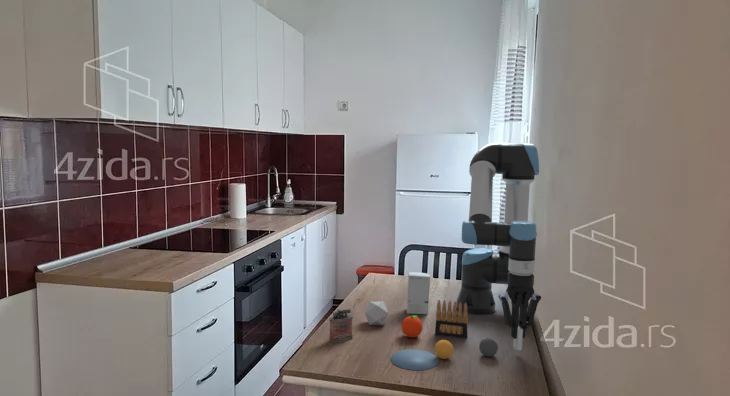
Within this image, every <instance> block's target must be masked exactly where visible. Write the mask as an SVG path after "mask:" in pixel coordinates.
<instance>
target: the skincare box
mask: <svg viewBox="0 0 730 396" xmlns="http://www.w3.org/2000/svg"><path fill="white" fill-rule="evenodd" d="M407 273H408V276H407V277H408V279H407V298H406V314H409V315H410V314H413V315H414V314H417V315H428V314H429V303H430V301H429V300H430V288H431V287H430V286H431V276H430V273H427V272H417V271H416V272H415V271H412V272H410V271H408V272H407Z"/></svg>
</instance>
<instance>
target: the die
mask: <svg viewBox="0 0 730 396" xmlns="http://www.w3.org/2000/svg"><path fill="white" fill-rule="evenodd" d="M364 312H365V313H364V315H365V317H366V320H367V322H368V326H385V322H386V320H387V318H388V315H389V311H388V309H387V306H386V303H385V302H384V301H369V302H368V305H367V307H366V310H365V311H364Z"/></svg>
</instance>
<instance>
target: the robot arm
mask: <svg viewBox="0 0 730 396" xmlns="http://www.w3.org/2000/svg"><path fill="white" fill-rule="evenodd" d="M468 172H469V175H470V177H471V181H470V193H469V194H470V196H469V197H470V198H469V210H468V211H469V213H468V220H464V221H462V225H461V242H462V243H463V244H466V245H473V246H480V245H481V246H497V247H499V248H498V253H495V252H494V250H493V249H491V248H486V247H480V248H479V247H478V248H472V249H468V250H466V251H464V252H463V254H462V260H461V283H460V284H461V285H460V286H461V287H460V291H459V292H458V295H457V298H456V301H455V302H456V305H457V309H458V307H459V303H460V302H461V304H462V312H463V311H464V305H465V302H466V303H467V314H468V313H470V314H477V315H478V314H479V315H483V314H486V315H487V314H490V313H493V312H495V311H496V302H495V301H496V300H495V298H494V294H493V291H492V287H493V286H492V285H493V284H497V285H507V288H506V289H505V292H504V293H503V294H498V298H499V300H500V302H501V306H502V311H503V316H504V321H505V322H504V323H505V325H507V326H508V327H509V328H511V332H510V335H511V336H510V337H511V338H513V345H512V346H513V348H514V349H515V350H516V351H522V350H523V339H525V338H526V331H527V330H528V327H532V325H533V323H534V318H535V315H536V311H537V307H538V304H539V302H540V301H541V299H542V296H541V295H540V294H538V293H536V292H535V289H534V285H535V275H534V273H535V263H536V262H535V261H536V257H535V256H536V244H537V242H536V241H537V235H538V233H537V224H536V223H535V222H533V221H529V209H530V208H529V207H530V191H531V190H530V187H531V184H532V183H533V182H534V181H535V176H537V175H539V173H540V162H539V152H538V148H537V146H536V145H535V144H534V143H525V142H521V143H520V142H517V143H515V142H513V143H509V142H501V143H500V142H493V143H489V144H486V145H485V146H483V147H481V148H480V149H479V150H478V151H477V152H476V153H475V154H474V155H473V157H472V159H471V161H470V164H469V171H468ZM496 175H502V178H501V180H503V182H504V183H505V197H504V198H505V201H504V203H505V205H504V222H495V221H494V222H493V221H492V220H493V192H494V191H493V190H494V189H493V187H494V186H493V183H494V181H493V180H494V177H495V176H496ZM509 299H510V300H511V301H510V302H511V308H510V303H509Z"/></svg>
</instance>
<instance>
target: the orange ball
mask: <svg viewBox="0 0 730 396" xmlns="http://www.w3.org/2000/svg"><path fill="white" fill-rule="evenodd" d="M434 352H435V354H436V355H435V356H436V357H437V358H439V359H442V360H448V359H449V358H450V357H452V356H453V353H454V346H453V344H452V343H451V341H449V340H446V339H441V340H438V341H437V342H436V344H435V345H434Z"/></svg>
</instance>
